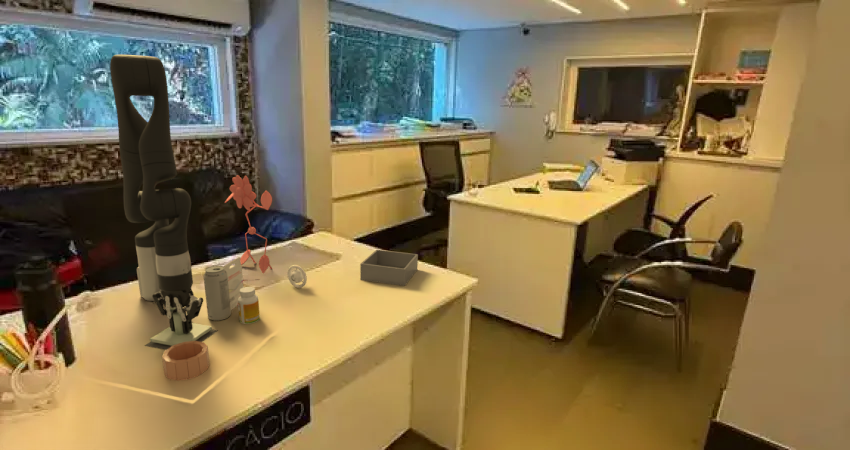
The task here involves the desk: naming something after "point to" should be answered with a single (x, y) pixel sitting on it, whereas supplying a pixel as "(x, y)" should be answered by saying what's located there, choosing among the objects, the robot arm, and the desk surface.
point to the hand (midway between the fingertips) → (181, 331)
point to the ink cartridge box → (234, 281)
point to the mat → (165, 347)
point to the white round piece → (297, 276)
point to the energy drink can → (217, 293)
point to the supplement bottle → (248, 306)
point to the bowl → (185, 360)
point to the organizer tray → (389, 274)
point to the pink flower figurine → (243, 197)
